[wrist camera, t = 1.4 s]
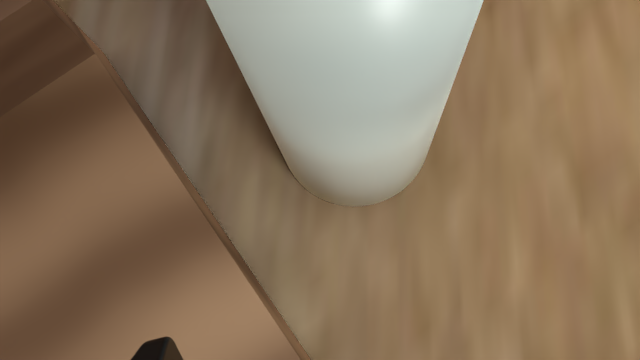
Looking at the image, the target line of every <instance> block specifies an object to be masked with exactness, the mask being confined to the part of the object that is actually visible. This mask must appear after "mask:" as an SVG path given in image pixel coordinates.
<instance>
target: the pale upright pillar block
mask: <svg viewBox="0 0 640 360" xmlns="http://www.w3.org/2000/svg"><path fill="white" fill-rule="evenodd" d="M206 1H207V3H208V5H209V8H210V10H211V12H212V14H213V16H214V18H215V20H216V22H217V24H218V26H219V28H220V30H221V32H222V34H223V36H224V38H225V40H226V42H227V44H228V46H229V48H230V50H231V52H232V54H233V56H234V58H235V60H236V62H237V64H238V66H239V68H240V70H241V72H242V74H243V76H244V78H245V80H246V82H247V84H248V86H249V88H250V90H251V92H252V94H253V97H254V99H255V101H256V103H257V105H258V107H259V109H260V111H261V113H262V115H263V117H264V119H265V121H266V123H267V125H268V127H269V129H270V131H271V133H272V135H273V137H274V139H275V141H276V143H277V145H278V147H279V149H280V151H281V153H282V155H283V157H284V159H285V161H286V163H287V165H288V167H289V169H290V171H291V172H292V174H293V176H294V177H295V178H296V179H297V181H298V182H299V183H300V184H301V185H302V186H303V187H304V188H305V189H306V190H307V191H309V192H310V193H312V194H313V195H315V196H316V197H318V198H320V199H322V200H324V201H327V202H330V203H333V204H337V205H341V206H351V207H358V206H368V205H373V204H376V203H380V202H383V201H385V200H387V199H389V198H391V197H393V196H395V195H396V194H398V193H399V192H401V191H402V190H403V189H404V188H406V187H407V186H408V185H409V184H410V183H411V182H412V181H413V180H414V178H415V177H416V176H417V174H418V173H419V171H420V170H421V168H422V166H423V164H424V162H425V159H426V156H427V153H428V151H429V148H430V145H431V142H432V140H433V137H434V134H435V132H436V129H437V126H438V123H439V121H440V118H441V115H442V112H443V110H444V107H445V104H446V101H447V99H448V96H449V93H450V91H451V88H452V85H453V82H454V80H455V77H456V74H457V71H458V69H459V66H460V63H461V60H462V58H463V55H464V52H465V50H466V47H467V44H468V41H469V39H470V36H471V33H472V30H473V28H474V25H475V22H476V19H477V17H478V14H479V11H480V9H481V6H482V3H483V0H206Z"/></svg>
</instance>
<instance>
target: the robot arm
mask: <svg viewBox="0 0 640 360" xmlns="http://www.w3.org/2000/svg"><path fill="white" fill-rule="evenodd" d="M131 360H183V358H182V356H181V354H180V352H179V350H178V348H177V346H176V344H175V342H174V340H173V339H172V338H171V337H167V336H166V337H161V338H157V339H153V340H149V341H146V342H144V343H143V344H142V345H141V346H140V348H139V349H138V350H137V352H136V353H135V354H134V356H133V357H132V358H131Z"/></svg>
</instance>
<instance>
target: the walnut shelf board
mask: <svg viewBox="0 0 640 360" xmlns="http://www.w3.org/2000/svg"><path fill="white" fill-rule="evenodd" d="M166 336H167V337H171V338H172V339H173V340H174V342H175V344H176V346H177V348H178V350H179V352H180V354H181V356H182V358H183V360H311V359H310V358H309V356H308V355H307V353H306V352H305V350H304V349H303V347H302V346H301V344H300V343H299V342H298V340H297V339H296V337H295V336H294V334H293V333H292V331H291V330H290V328H289V327H288V325H287V324H286V322H285V321H284V319H283V318H282V316H281V315H280V313H279V312H278V310H277V309H276V307H275V306H274V305H273V303H272V302H271V300H270V299H269V297H268V296H267V294H266V293H265V291H264V290H263V288H262V287H261V285H260V284H259V282H258V281H257V279H256V278H255V276H254V275H253V273H252V272H251V271H250V269H249V268H248V266H247V265H246V263H245V262H244V260H243V259H242V257H241V256H240V254H239V253H238V251H237V250H236V248H235V247H234V245H233V244H232V242H231V241H230V239H229V238H228V236H227V235H226V234H225V232H224V231H223V229H222V228H221V226H220V225H219V223H218V222H217V220H216V219H215V217H214V216H213V214H212V213H211V211H210V210H209V208H208V207H207V205H206V204H205V202H204V201H203V199H202V198H201V197H200V195H199V194H198V192H197V191H196V189H195V188H194V186H193V185H192V183H191V182H190V180H189V179H188V177H187V176H186V174H185V173H184V171H183V170H182V168H181V167H180V165H179V164H178V163H177V161H176V160H175V158H174V157H173V155H172V154H171V152H170V151H169V149H168V148H167V146H166V145H165V143H164V142H163V140H162V139H161V137H160V136H159V134H158V133H157V131H156V130H155V128H154V127H153V126H152V124H151V123H150V121H149V120H148V118H147V117H146V115H145V114H144V112H143V111H142V109H141V108H140V106H139V105H138V103H137V102H136V100H135V99H134V97H133V96H132V94H131V93H130V92H129V90H128V89H127V87H126V86H125V84H124V83H123V81H122V80H121V78H120V77H119V75H118V74H117V72H116V71H115V69H114V68H113V66H112V65H111V63H110V62H109V60H108V59H107V57H106V56H105V55H104V53H103V52H102V51H101V50H100V49H99V48H98V47H97V46H96V45H95V44H94V43H93V42H92V41H91V40H90V39H89V37H88V36H87V35H86V34H85V33H84V32H83V31H82V30H81V29H80V28H79V27H78V26H77V25H76V24H75V23H74V22H73V21H72V20H71V19H70V18H69V17H68V16H67V15H66V14H65V13H64V12H63V11H62V10H61V9H60V8H59V7H58V6H57V4H56V3H55V2H54V1H53V0H0V360H131V358H132V357H133V356H134V354H135V353H136V352H137V350H138V349H139V348H140V346H141V345H142V344H143V343H144V342H146V341H149V340H153V339H157V338H161V337H166Z"/></svg>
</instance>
